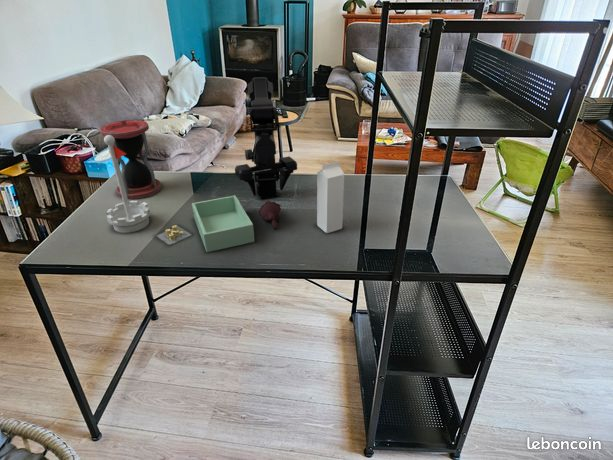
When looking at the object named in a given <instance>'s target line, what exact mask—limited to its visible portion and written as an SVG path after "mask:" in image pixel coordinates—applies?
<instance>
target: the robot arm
mask: <svg viewBox="0 0 613 460" xmlns="http://www.w3.org/2000/svg"><path fill="white" fill-rule="evenodd" d="M273 84H274V83H273V82H271V81H269V79H268V77H266V76H265V77H264V76H262V77H260V76H259V77H253V78H251V81H250V82H249V83H247V84H246V85H247V96H248V97H247V98H248V99H250V104H251V105H250V106H251V107H249V108H248V110H249V111H248V112H249V123H250V124H249V126H250V132H252V133H254V150H253V149H250V148H249V149H245V150H244V156H245V160H246V161H251V162H252V163H253V164H254V166H249V164H248V163H244V164H238V165H236V166H235V168H234V174H235V175H236V177H237V178H238V179H239V180H240V181H243V182H244V183H247V185H248V187H249V189H250V191H251V193H252V195H253V197H256V195H258V197H259V198H260V199H261V200H265V199H266V200H267V199H270V198H276V197H279V194H278V193H277V182H279V190H280V191H281V192H282V191H284V189H285V186H286V183H287V182H288V180H289V178H290V176H291V175H292V174H294V171H297V170H298V163H297V161H296V160H295V159H293V158H292V157H291V156H290V155H288V156H284V157H279V159H278V161H277V162H276V155H277V146H276V141H275V131H278V127H280V120H279V119H280V118H279V110H277V107H276V106H274V102H273V101H274V100H272V99H273V98H274V87H273V86H274V85H273Z"/></svg>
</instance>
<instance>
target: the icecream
mask: <svg viewBox="0 0 613 460" xmlns="http://www.w3.org/2000/svg"><path fill="white" fill-rule="evenodd" d="M281 211H282V207H281V204H279V203H277V202H275V201H271V200H270V199H269V198H266V200H265V202H264V203H263V204H262V205H261V206H260V208H259V210H258V214H259V216H260V217H261V218H262V219H263V221H264V222H267V223H271V226H272V228H273V230H277V229H278V228H279V227H278V225H279V224H278V222H277V221H278V219H280V216H281Z"/></svg>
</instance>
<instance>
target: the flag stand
mask: <svg viewBox="0 0 613 460" xmlns="http://www.w3.org/2000/svg"><path fill="white" fill-rule="evenodd" d="M103 137H104V138H103V141H104V143H105V145H107V147H108V151H109V154H110V158H111V162H112V167H113V169H114V173H115V177H116V180H117V185H118V186H119V188H120V192H121V196H122V197H121V199H122V202H119V203H116V204H114V207H115V208H114V209H113V208H108V209H107V210H106V219H107V222H108V224H110V225H112V226H113V229H114V231H116V232H118V233H122V234H123V233H124V234H126V233H134V232H137V231H140V230H142V229H145V228H146V227H147V226H148V225H149V224H150V219H149V217H150V216H151V209H150V206H149V204H148V203H147V202H145V201H143V202H141V203H139V200H130V201H129V199H128V198H127V194H126V191H125V187H124V183H123V179H122V175H121V172H122V171H121V168H119V164H118V160H117V159H118V158H120V157H121V158H122V157H124V155H126V153H124V152H123V151H121V150H120V149H118V148H116V147H115V146H114V145H113V144H114V142H115V139H114V137H113V136H111V135H107V136H103ZM120 171H121V172H120Z"/></svg>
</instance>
